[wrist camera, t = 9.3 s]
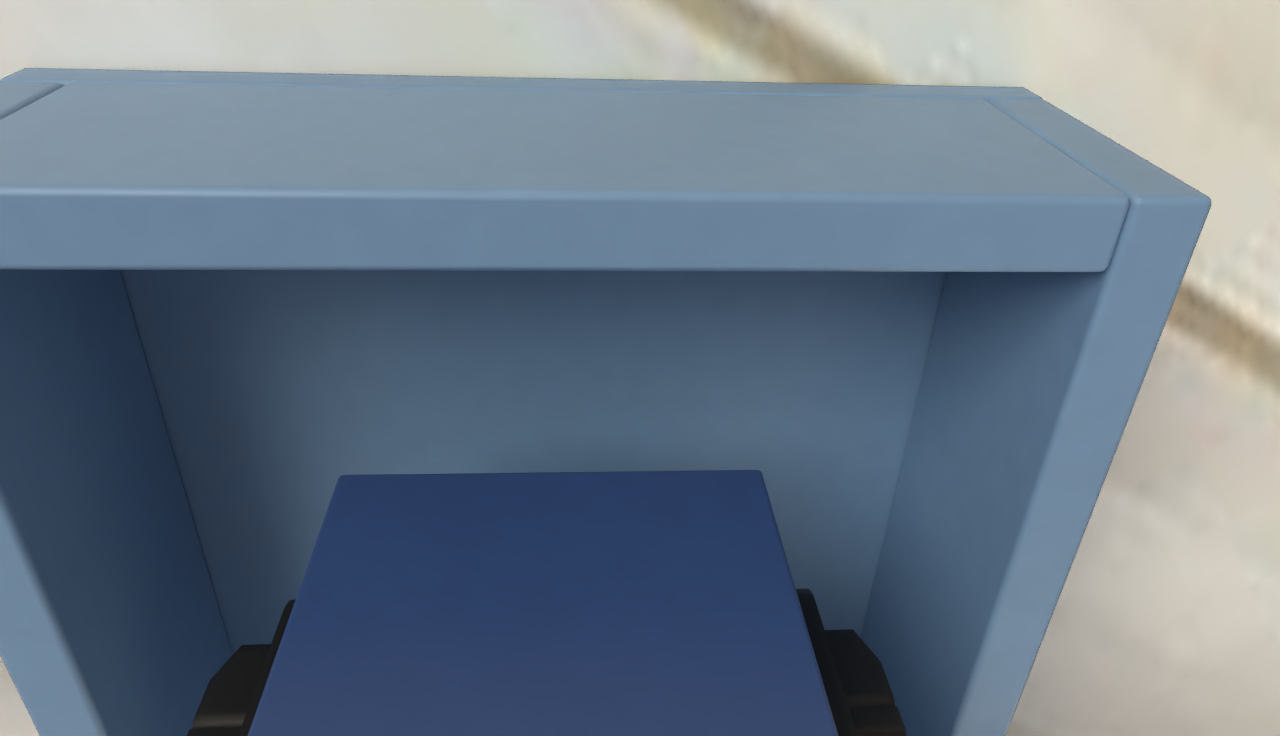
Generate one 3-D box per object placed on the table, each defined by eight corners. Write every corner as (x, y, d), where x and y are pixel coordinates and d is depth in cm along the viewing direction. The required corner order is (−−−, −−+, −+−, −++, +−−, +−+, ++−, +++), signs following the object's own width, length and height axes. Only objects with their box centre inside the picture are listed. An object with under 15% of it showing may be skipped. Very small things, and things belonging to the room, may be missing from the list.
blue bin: (232, 733, 17) (148, 964, 14) (21, 66, 11) (-236, 185, 7) (866, 710, 18) (936, 919, 15) (1026, 86, 12) (1218, 197, 8)
